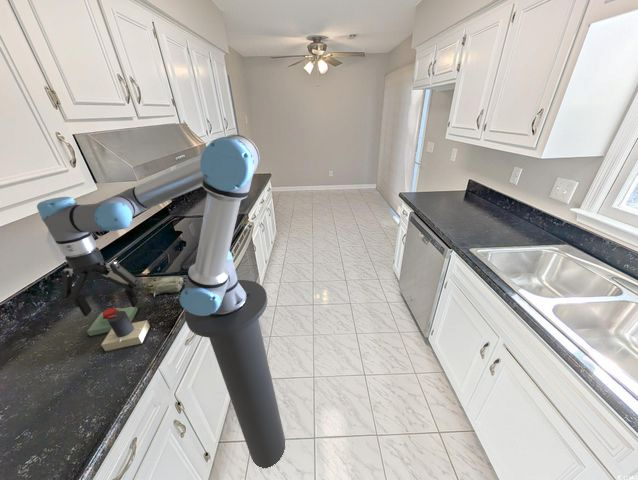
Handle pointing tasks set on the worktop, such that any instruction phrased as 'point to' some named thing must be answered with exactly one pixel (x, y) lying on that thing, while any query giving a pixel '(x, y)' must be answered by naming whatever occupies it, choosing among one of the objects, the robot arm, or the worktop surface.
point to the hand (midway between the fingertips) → (112, 308)
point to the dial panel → (126, 337)
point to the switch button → (109, 312)
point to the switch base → (103, 325)
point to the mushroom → (165, 285)
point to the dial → (120, 324)
